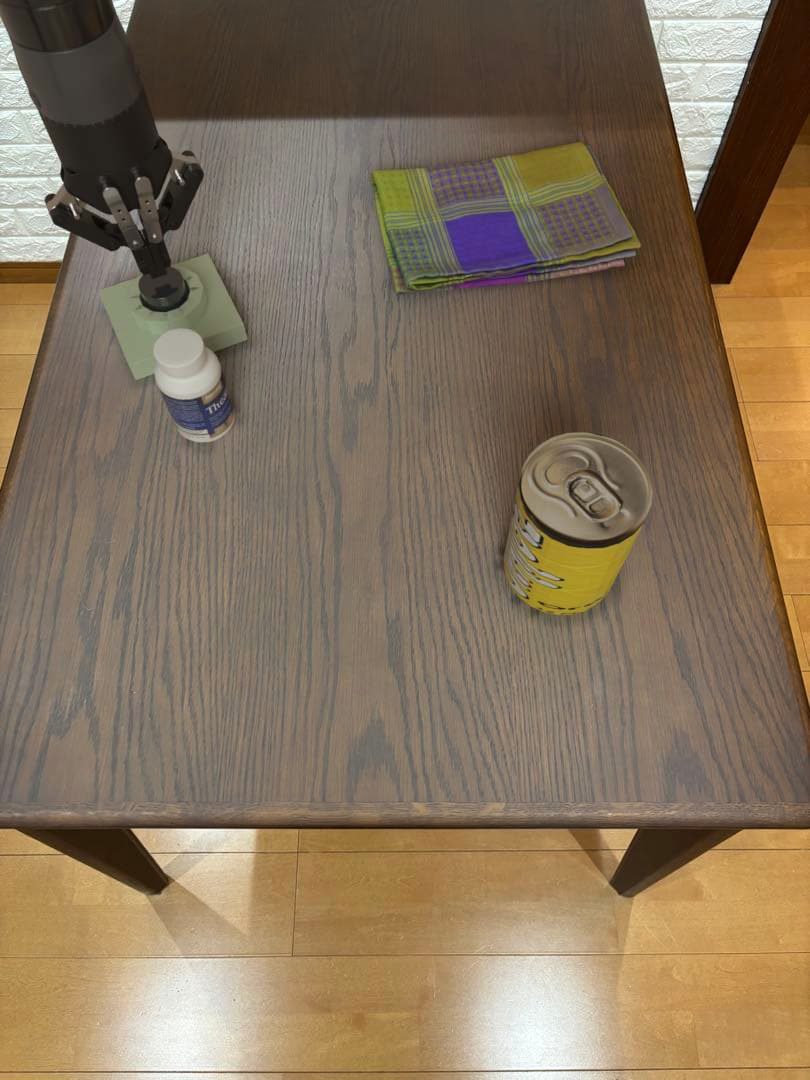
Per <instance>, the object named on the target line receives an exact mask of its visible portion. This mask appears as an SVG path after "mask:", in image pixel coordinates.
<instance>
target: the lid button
mask: <svg viewBox="0 0 810 1080" xmlns="http://www.w3.org/2000/svg"><path fill="white" fill-rule="evenodd" d="M166 271H167V274H166V275H163V276H160V275H159V277H157V278H154V279H152V278H151V276H150V274H147V275H142V276H141V278H140V280H139V283H138V287H139V290H140V293H141V295H142V297H143V300H144V302H145V304H146V306H147V307H148V308H150V309H151V310H153V311H157V312H168V311H171V310H174V309H177V308H179V307H180V306H181V305H182V304H183V303H184V302H185V300H186V298H187V288H186V285H185V283H184V280H183V277H182V274H181V273H180V272H179V271H178V270H177V269H175V268H173V267H167V268H166ZM158 274H159V273H158Z"/></svg>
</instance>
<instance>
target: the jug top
mask: <svg viewBox="0 0 810 1080" xmlns="http://www.w3.org/2000/svg"><path fill="white" fill-rule="evenodd" d="M170 267H173V268H175V269H177V270H178V271H179V272H180V273H181V274H182V277H183V280H184V283H185V285H186V288H187V298H186V300H185V302H184V303H183V304H182V305H181V306H180V307H179V308H177V309H174V310H171V311H168V312H157V311H153V310H151V309H150V308H148V307H147V306H146V304H145V302H144V300H143V297H142V295H141V293H140V290H139V287H138V283H139V280H140V278H141V276H142V275H143V274H142V273H140V275H138V276H137V277H134V278H130V279H128V280H126V281H122V282H119V283H116V284H114V285H111V286H108V287H104V288H101V289H98V294H99V297H100V298H101V301H102V305H103V306H104V308H105V311H106V313H107V316H108V319H109V321H110V323H111V326H112V328H113V331H114V333H115V336H116V338H117V340H118V343H119V345H120V349H121V351H122V354H123V356H124V358H125V360H126V363H127V365H128V368H129V370H130V371H131V373H132V375H133V378H134V380H135V381H138V380H141V379H144V378H146V377H147V378H148V377H149V376H152V375H155V366H156V363H157V362H156V359H155V356H154V352H153V349H154V344H155V342H156V341H157V339H158V338H159V337H160V336H161V335H162V334H164V333H165V332H167V331H169V330H172V329H178V328H186V329H190V330H193V331H195V332H196V333H198V334H199V335H200V336H201V338H202V340H203V342H204V345H205V347H207V348H209V349H210V350H211V351H212V352H213V353H216V352H218V351H221V350H224V349H226V348H227V349H228V348H229V347H232V346H234V345H237V344H240V343H243V342H245V341H248V339H249V338H248V335H247V334H248V333H247V330H246V328H245V327H246V326H245V324H244V321H243V320H242V317H241V315H240V313H239V312H238V309H237V307H236V306H235V304H234V301H233V300H232V298H231V296H230V293H229V291H228V290H227V288H226V285H225V284H224V281H223V280H222V277H221V276H220V274H219V272H218V270H217V268H216V265H215V264H214V261H213V260H212V258H211V256H210V254H209V253H204V254H202V255H199V256H196V257H193V258H190V259H187V260H183V261H182V262H178V263H174V264H171V266H170Z"/></svg>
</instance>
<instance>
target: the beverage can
mask: <svg viewBox="0 0 810 1080" xmlns="http://www.w3.org/2000/svg"><path fill="white" fill-rule="evenodd" d="M653 493H654V490H653V486H652V481H651V476H650V474H649V472H648V471H647V469H646V467H645V465H644V463H643V462H642V460H641V459H640V458H639V457H638V456H637V455H636V454H635V453H634V452H633V451H632V449H630V448H628V447H626V446H625V445H624V444H622V443H621V442H619V441H618V440H616V439H613V438H610V437H608V436H605V435H603V434H599V433H598V434H597V433H593V432H586V431H579V432H566V433H563V434H560V435H556V436H552V437H551V438H549V439H547V440H545V441H543V442H542V443H540V444H538V445H537V446H536V448H535V449H534V450H532V452H530V454H528V456H527V458H526V459H525V461H524V464H523V465H522V467H521V470H520V476H519V480H518V485H517V489H516V494H515V500H514V503H513V509H512V513H511V517H510V523H509V528H508V533H507V537H506V543H505V546H504V547H505V548H504V553H503V559H502V562H503V563H502V564H503V569H504V570H503V571H504V575H505V577H506V580H507V582H508V585H509V587H510V588H511V589H512V591H513V592H514V593H515V594H516V595H517V597H518V598H519V599H521V600H522V601H523V602H524V603H526V604H527V605H528V606H529V607H531V608H534V609H536V610H538V611H540V612H543V613H546V614H550V615H556V616H571V615H572V616H573V615H577V614H581V613H583V612H587V611H590V609H592V608H594V607H595V606H597V605H598V604H600V603H601V602H602V601H603V600H604V598H605V597H606V596H607V595H608V594H609V592H610V591H611V589H612V586H613V584H614V583H615V581H616V579H617V577H618V575H619V573H620V571H621V569H622V567H623V565H624V563H625V561H626V559H627V557H628V555H629V553H630V551H631V549H632V547H633V545H634V543H635V541H636V539H637V537H638V535H639V534H640V532H641V530H642V527H643V526H644V524H645V522H646V519H647V517H648V514H649V512H650V510H651V508H652V505H653Z"/></svg>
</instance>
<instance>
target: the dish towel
mask: <svg viewBox="0 0 810 1080" xmlns="http://www.w3.org/2000/svg"><path fill="white" fill-rule="evenodd" d="M370 179H371V188H372V190H373V195H374V202H375V203H374V204H375V209H376V213H377V214H376V215H377V219H378V223H379V229H380V235H381V239H382V242H383V243H382V244H383V247H384V252H385V255H386V260H387V263H388V267H389V272H390V276H391V281H392V286H393V290H394V294H395V295H396V296H399V295H409V294H417V293H425V292H426V293H427V292H442V291H450V290H451V291H452V290H460V289H469V288H480V287H494V286H503V285H512V284H521V283H530V282H539V281H544V280H551V279H558V278H563V277H564V278H565V277H570V276H579V275H585V274H590V273H597V272H600V271H606V270H608V269H611V268H621V267H625V260H624V259H625V258H631V257H633V258H634V257H636V256H637V252H636V250H635V249H640V248H642V243H641V242H640V240H639V238H638V236H637V233H636V231H635V230H634V228H633V226H632V225H631V223H630V221H629V220H628V217H627V216H626V214H625V212H624V210H623V207H622V206H621V204H620V203H619V200H618V197H617V195H616V194H615V192H614V190H613V189H612V186H611V185H610V184H609V183H608V180H607V178H606V176H605V175H604V172H603V170H602V168H601V164H600V163H599V160H598V159H597V157H596V154H595V153H594V151H593V149H592V148H591V146H590V145H589V144H584V142H583V143H582V142H581V141H577V142H573V143H566V144H561V145H557V146H552V147H547V148H542V149H538V150H533V151H529V152H524V153H521V154H520V153H519V154H510V155H504V156H501V157H494V158H487V159H483V160H480V161H479V160H478V161H477V160H476V161H469V162H468V161H466V162H459V163H458V162H457V163H448V164H443V165H442V164H440V165H436V166H429V167H428V166H427V167H426V166H425V167H412V168H404V169H402V168H401V169H398V168H397V169H389V168H388V169H373V170H371V173H370Z"/></svg>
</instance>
